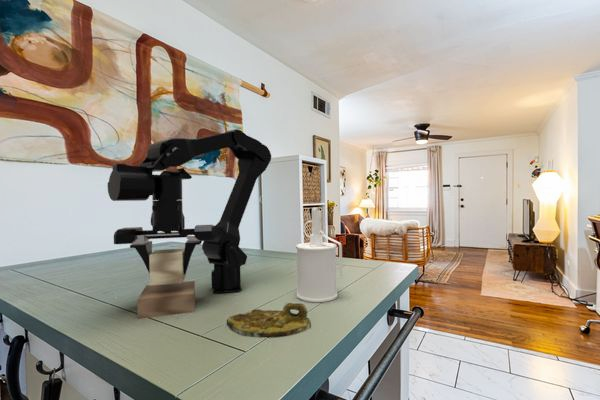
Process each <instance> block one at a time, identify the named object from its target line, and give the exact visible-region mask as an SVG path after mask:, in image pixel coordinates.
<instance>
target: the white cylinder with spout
mask: <svg viewBox="0 0 600 400" xmlns="http://www.w3.org/2000/svg"><path fill="white" fill-rule="evenodd" d="M310 222H311V234H307V232H306V225H307V224H308V223H310ZM303 233H304V235H305V236H306V237H307V238H309V242H302V243H297V244H296V245H295V249H296V256H297V257H296V259H297V260H296V263H297V266H296V267H297V291H296V297H297V298H298V300H301V301H304V302H309V303H326V302H330V301H333V300H336V299H337V298H338V292H337V261H336V260H337V259H336V257H337V256H336V255H337V254H336V253H337V251H336V250H337V247H338V260H339V261H338V264H339V267H338V268H339V269H338V271H339V280H342V279H343V252H342V251H343V249H342V248H343V247H342V243H341V242H339V241H338V240H336V239H334V238H332V237H330V236H328V235H326V234H325V231H323V230H322V211H321V210H319V207H312V209H311V220H308V221H306V222H304V225H303ZM323 238H324V239H327V240H329V241H331V242H332V243H331V242H325V241H324V242H323ZM337 245H338V246H337Z"/></svg>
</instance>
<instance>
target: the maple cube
mask: <svg viewBox="0 0 600 400" xmlns="http://www.w3.org/2000/svg"><path fill="white" fill-rule="evenodd" d="M184 252H185V248H169V249H167V248H166V249H155V250H154V251H152V253H151V254H150V255H149V265H150V274H149V285H161V284H174V283H183V282H185V281H184V280H185V278H186V276H187V273H186V274H185V275H184V270H183V263H184Z"/></svg>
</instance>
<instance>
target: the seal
mask: <svg viewBox="0 0 600 400" xmlns="http://www.w3.org/2000/svg"><path fill="white" fill-rule="evenodd" d="M291 310H295V311H297V313H294V312H291ZM226 324H227V325H228V326H229V327H230V330H231V331H232V332H234V333H236V334H238V335H241V336H244V337H250V338H251V337H252V338H263V337H264V338H265V337H267V338H280V337H281V338H282V337H289V336H294V335H297V334H300V333H303V332H305V331H307V330H310V329H311V327H312V322H311V319H310V318H309V317H308V309H307V307H306V305H305V304H304V303H294V302H293V303H292V302H287V303H285V305H284V306H283V309H282V310H262V309H259V308H258V309H257V308H255V309H252V310H251V311H250V312H244V313H239V314H234V315H231V316H229V317H228V318H227V319H226ZM264 338H263V339H264Z"/></svg>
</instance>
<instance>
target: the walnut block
mask: <svg viewBox="0 0 600 400" xmlns="http://www.w3.org/2000/svg"><path fill="white" fill-rule="evenodd" d="M195 285H196V281H195V280H189V281H183V283H174V284H161V285H150V284H147V285H145V287H144V288H143V290H142V292H141V293H140V295H139V297H138V298H137V299H136V301H137V319H138V320H139V319H148V318H154V317H156V318H157V317H163V316H172V315H173V316H174V315H179V314H181V315H182V314H187V313H195V301H196V299H195V298H196V290H195V287H196V286H195Z"/></svg>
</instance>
